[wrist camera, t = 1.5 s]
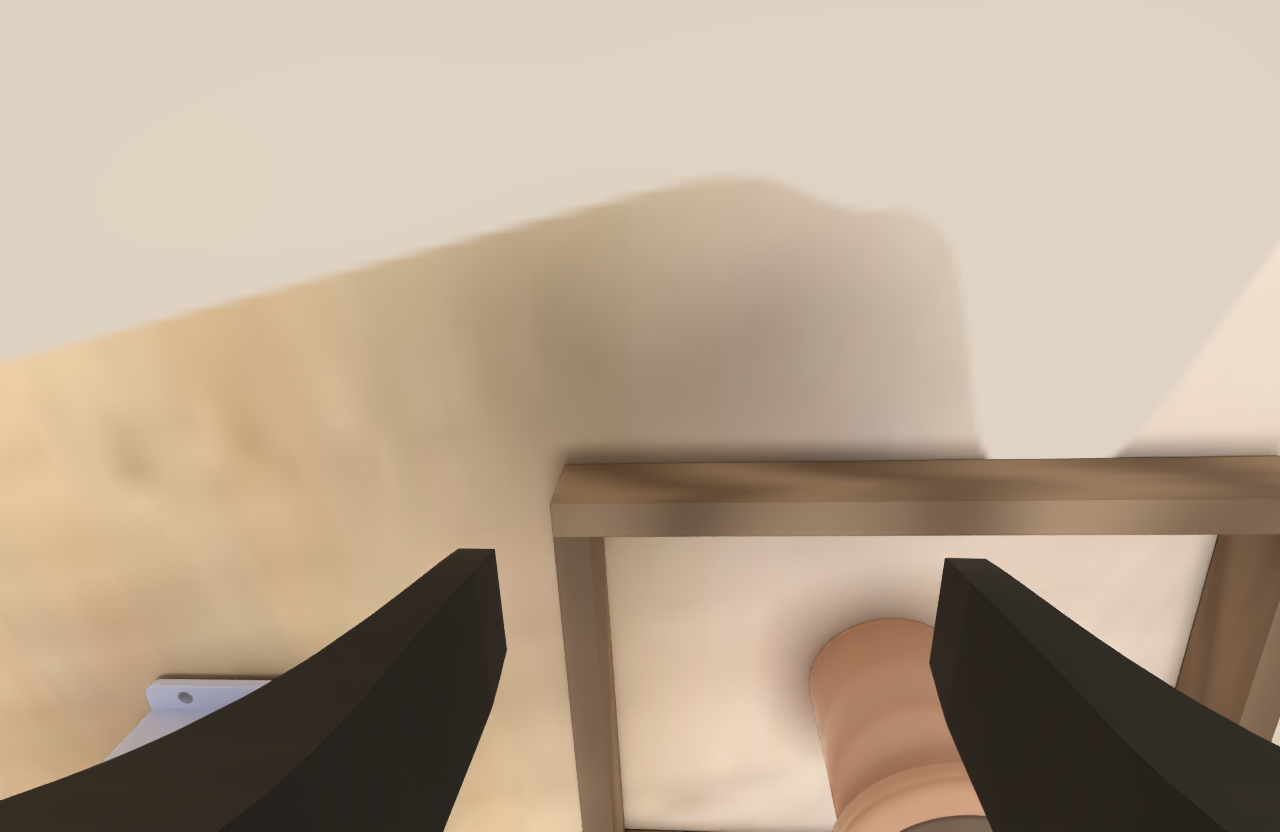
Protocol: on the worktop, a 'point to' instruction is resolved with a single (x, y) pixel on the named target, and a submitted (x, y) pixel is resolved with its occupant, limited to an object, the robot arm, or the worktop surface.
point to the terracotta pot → (889, 734)
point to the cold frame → (927, 506)
